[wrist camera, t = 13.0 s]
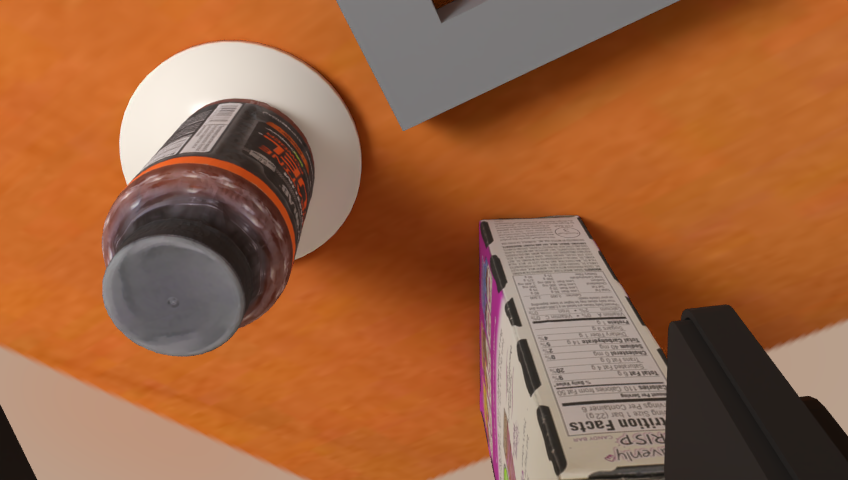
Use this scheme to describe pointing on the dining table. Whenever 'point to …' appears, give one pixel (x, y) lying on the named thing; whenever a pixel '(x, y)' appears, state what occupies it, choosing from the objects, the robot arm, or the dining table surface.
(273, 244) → the supplement bottle
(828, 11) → the dining table surface
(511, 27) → the socket block
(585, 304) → the candy bar box
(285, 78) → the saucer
